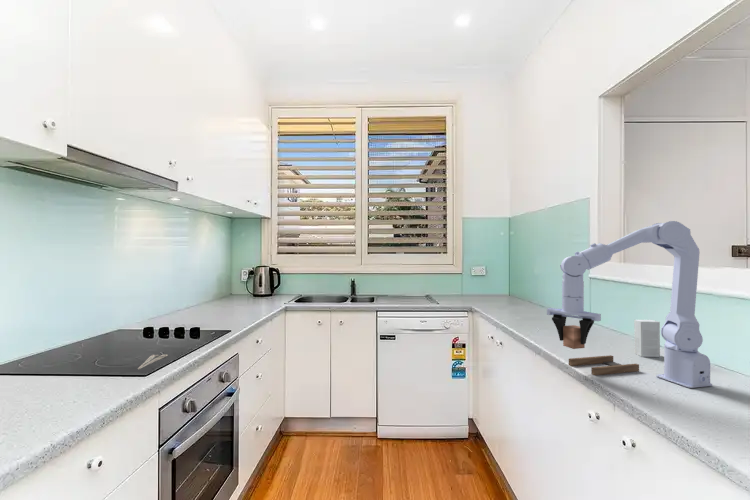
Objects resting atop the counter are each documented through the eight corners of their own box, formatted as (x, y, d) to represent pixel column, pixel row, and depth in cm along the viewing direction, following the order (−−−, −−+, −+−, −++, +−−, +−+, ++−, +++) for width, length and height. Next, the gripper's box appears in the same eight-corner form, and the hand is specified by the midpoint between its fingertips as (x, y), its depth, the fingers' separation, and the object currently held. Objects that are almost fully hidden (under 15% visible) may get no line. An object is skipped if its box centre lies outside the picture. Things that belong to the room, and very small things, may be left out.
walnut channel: (639, 371, 112) (639, 364, 112) (594, 375, 109) (594, 368, 109) (610, 361, 122) (610, 355, 122) (568, 364, 118) (568, 358, 118)
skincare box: (652, 354, 131) (652, 319, 131) (660, 357, 127) (660, 321, 127) (633, 353, 132) (633, 319, 132) (641, 357, 127) (641, 321, 127)
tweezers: (154, 357, 127) (154, 351, 127) (168, 357, 127) (168, 351, 127) (123, 379, 109) (122, 372, 109) (139, 379, 110) (139, 372, 110)
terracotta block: (584, 348, 112) (584, 327, 112) (573, 349, 111) (573, 328, 111) (573, 344, 116) (573, 325, 116) (563, 345, 115) (563, 325, 115)
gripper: (604, 297, 110) (604, 344, 110) (553, 293, 121) (553, 335, 121) (596, 299, 105) (595, 348, 105) (543, 294, 116) (543, 339, 116)
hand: (572, 341), depth 113 cm, fingers closed on terracotta block, 5 cm apart
